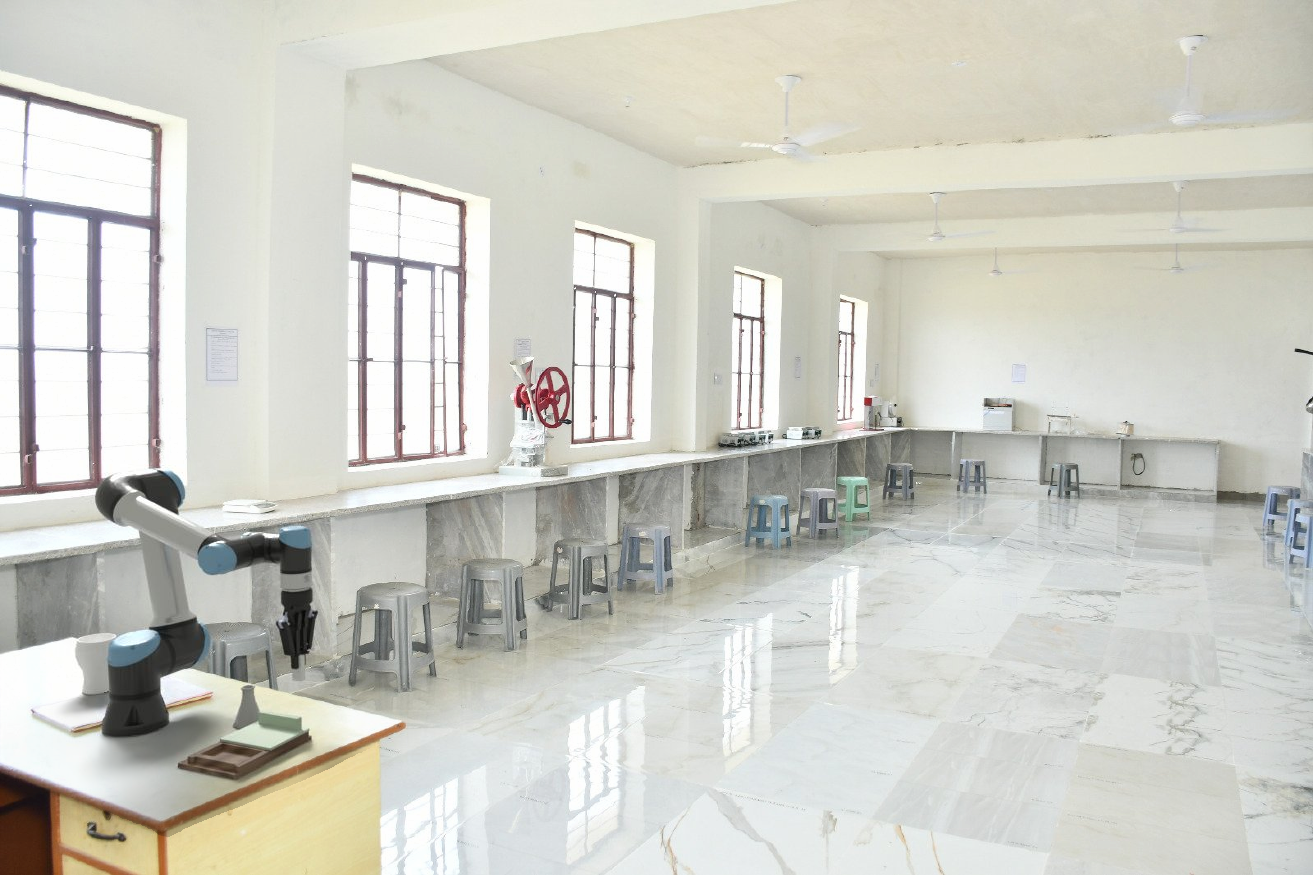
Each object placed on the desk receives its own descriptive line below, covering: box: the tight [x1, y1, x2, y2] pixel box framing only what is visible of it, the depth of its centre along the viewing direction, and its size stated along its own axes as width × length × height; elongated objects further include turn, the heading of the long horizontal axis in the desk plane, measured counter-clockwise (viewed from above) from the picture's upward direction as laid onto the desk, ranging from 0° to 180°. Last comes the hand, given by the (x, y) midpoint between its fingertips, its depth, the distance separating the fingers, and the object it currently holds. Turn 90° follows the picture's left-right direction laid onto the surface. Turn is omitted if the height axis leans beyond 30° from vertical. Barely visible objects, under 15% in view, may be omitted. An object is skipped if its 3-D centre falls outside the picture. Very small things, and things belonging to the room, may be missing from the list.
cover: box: [219, 709, 310, 751], centre depth 238 cm, size 15×14×4 cm
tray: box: [177, 730, 313, 780], centre depth 234 cm, size 17×25×2 cm
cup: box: [74, 632, 118, 695], centre depth 275 cm, size 11×11×15 cm
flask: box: [232, 684, 261, 730], centre depth 251 cm, size 7×7×10 cm
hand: (298, 680), depth 248 cm, fingers closed
